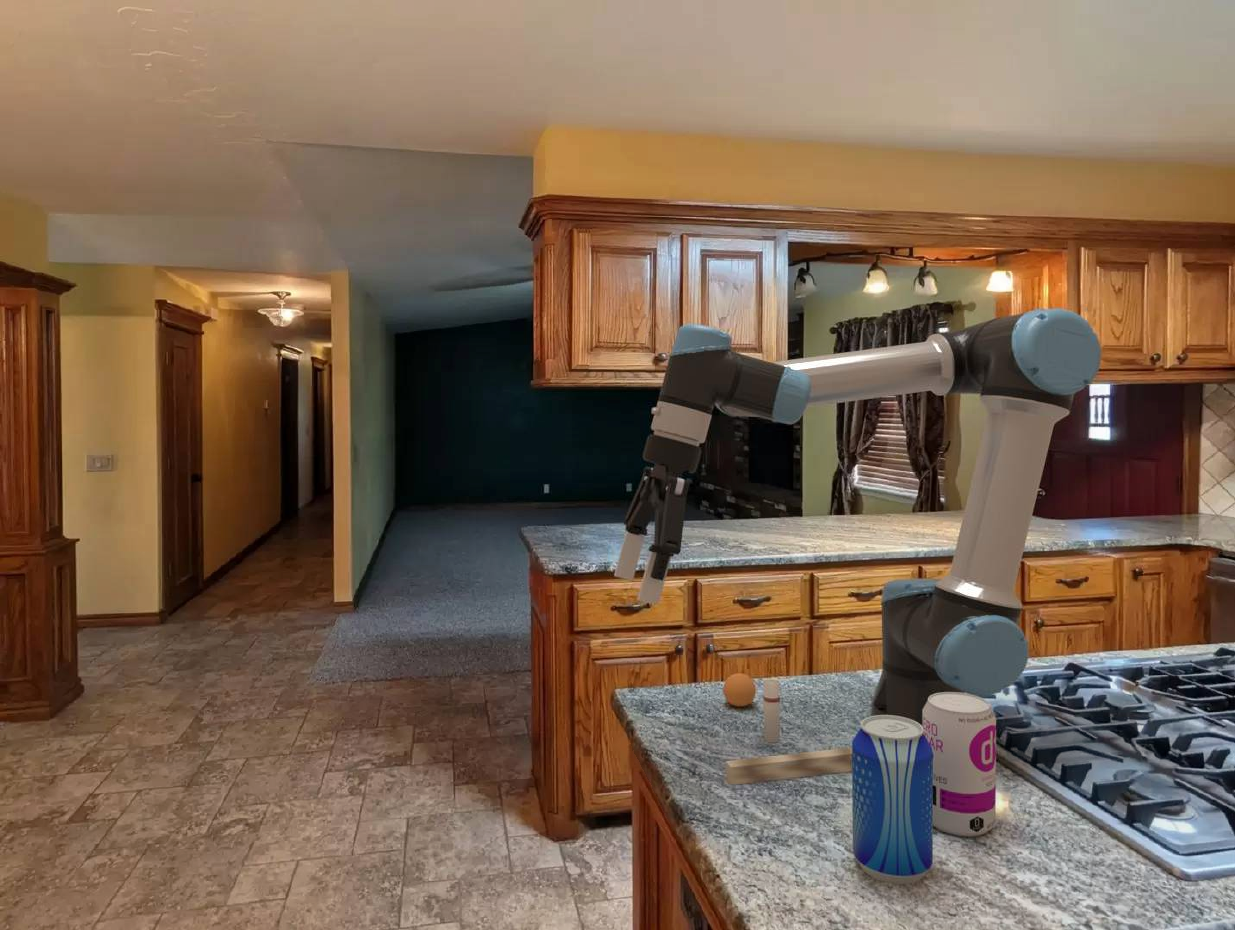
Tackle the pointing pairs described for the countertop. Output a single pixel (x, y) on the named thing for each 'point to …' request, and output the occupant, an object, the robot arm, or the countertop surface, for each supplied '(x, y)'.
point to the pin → (771, 711)
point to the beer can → (892, 799)
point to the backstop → (789, 766)
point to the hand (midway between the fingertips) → (634, 589)
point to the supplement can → (962, 762)
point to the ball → (739, 689)
